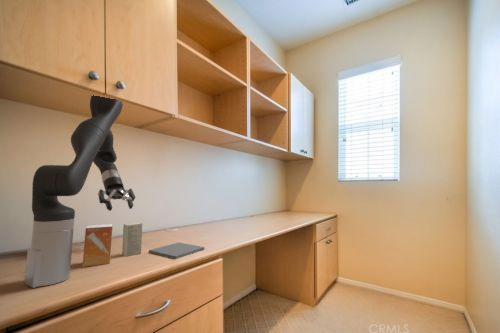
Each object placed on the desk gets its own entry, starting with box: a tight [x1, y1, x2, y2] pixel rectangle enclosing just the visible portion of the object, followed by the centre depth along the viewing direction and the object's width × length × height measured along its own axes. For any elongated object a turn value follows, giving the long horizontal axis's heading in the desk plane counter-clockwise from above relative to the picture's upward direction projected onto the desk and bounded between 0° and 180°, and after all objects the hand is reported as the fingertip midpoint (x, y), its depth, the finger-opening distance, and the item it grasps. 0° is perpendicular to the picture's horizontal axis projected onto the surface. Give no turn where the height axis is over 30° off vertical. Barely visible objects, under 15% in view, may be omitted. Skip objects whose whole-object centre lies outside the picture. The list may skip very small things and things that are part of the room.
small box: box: [82, 223, 113, 268], centre depth 82 cm, size 8×6×13 cm
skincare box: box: [121, 221, 143, 257], centre depth 93 cm, size 6×4×12 cm
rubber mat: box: [148, 242, 205, 260], centre depth 98 cm, size 16×16×1 cm
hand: (121, 208), depth 101 cm, fingers open, 8 cm apart
